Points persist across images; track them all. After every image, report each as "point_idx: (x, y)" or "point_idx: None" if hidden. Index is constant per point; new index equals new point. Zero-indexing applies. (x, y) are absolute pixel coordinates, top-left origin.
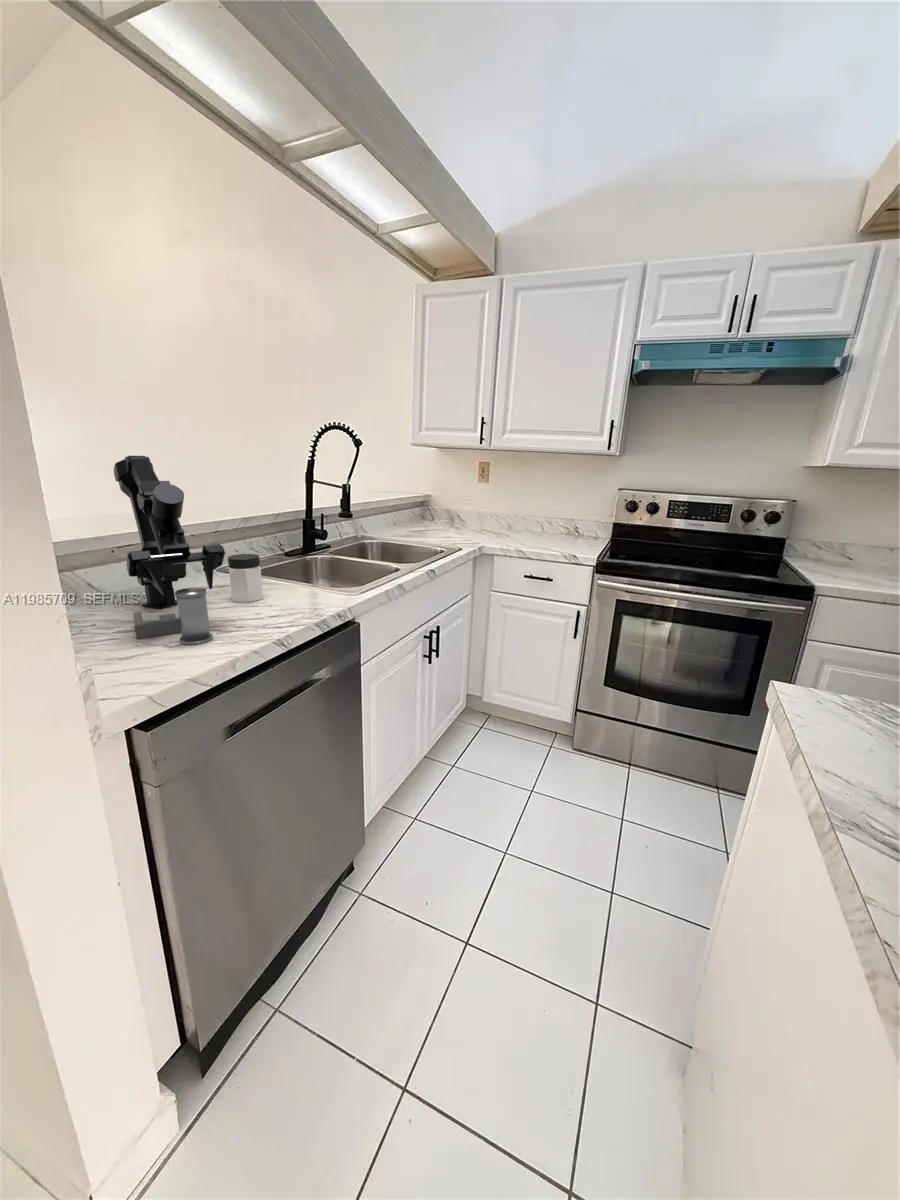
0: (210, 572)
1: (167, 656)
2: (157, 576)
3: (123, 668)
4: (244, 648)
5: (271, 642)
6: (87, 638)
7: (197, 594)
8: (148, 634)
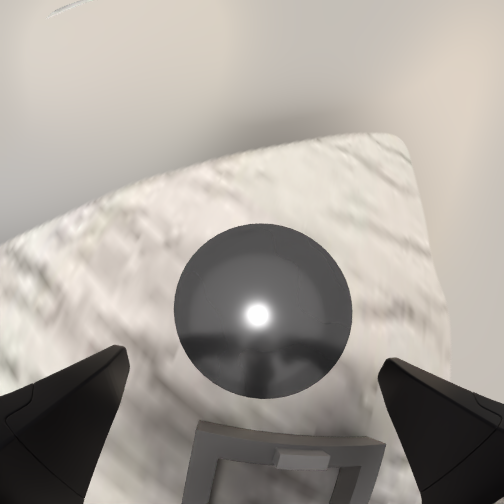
0: (57, 385)
1: None
2: (466, 398)
3: (406, 254)
4: (175, 195)
5: (114, 192)
6: None
7: (253, 226)
8: (344, 438)
